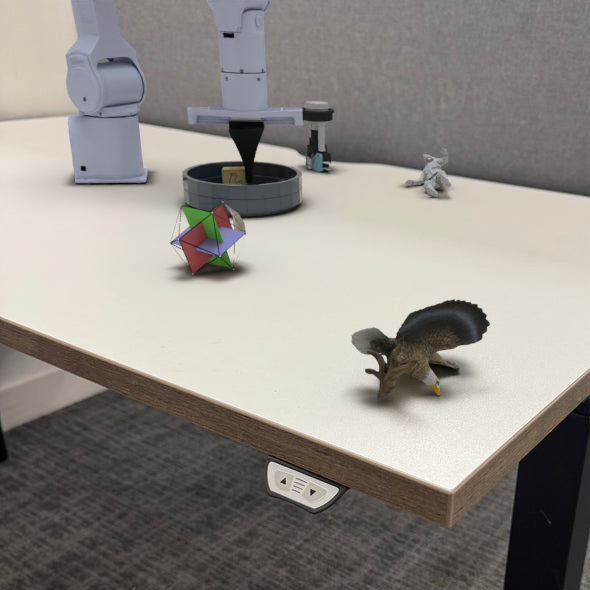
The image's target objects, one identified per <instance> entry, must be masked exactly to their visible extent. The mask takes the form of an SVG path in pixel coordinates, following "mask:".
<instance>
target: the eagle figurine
mask: <svg viewBox="0 0 590 590" xmlns="http://www.w3.org/2000/svg"><path fill="white" fill-rule="evenodd" d="M478 305H479V304H478V303H472V302H471V301H466V300H465V299H464V300H461V299H457V300H456V299H447V300H444V301H442V302H439V303H436V304H433V305H429V306H426V307H424V308H419V309H418V310H414V311H412V312H409V314H407V316H406V318H405V319H404V321H403V322H402V323H401V325H400V327H398V330H397V331H396V335H395V337H388V336H387V335H386V334H384V333H383V332H382V331H381V329H379V328H378V327H367V328H362V329H359V330H357V331H355V332H354V333H353V334H351V344H352V346H353V347H354V348H355V349H356V350H357V351H358V352H359V353H360V354H363V355H368V356H369V355H370V356H372V357H373V358H374V359H375V361H376V362H377V364H378V370H375V369H374V368H369V367H368V368H365V369H364V372H365V373H366V374H367V375H373V376H374V377H375V378H377V379H378V380H379V383H378V384H379V385H378V386H379V387H378V392H377V394H376V395H377V396H376V400H377V401H379V402H380V401H381V400H383V399H384V398H386V397H387V396H388V394H391V393H392V392H393V390H394V389H395V385H396V382H397V380H398V378H399V377H401V375H404V374H407V375H408V376H410V377H412V378H414V379H417V380H419V381H420V382H422V383H424V385H426V386H427V387H429V388H430V389H432V390H433V391H434V392H435V394H436V395H437V396H440V395H442V394H441V388H440V385H441V383H440V382H441V381H440V380H439V378H438V377H437V375H436V374H435V372H434V371H433V369H432V368H431V367H430V366H431V365H430V364H434V365H441V366H445V367H450V368H452V369H455V370H461V367H460V365H457V364H456V362H451V361H449V360H446V359H444V357H442V356H441V355H440V353H438V352H440V351H449V350H455V349H456V348H458V347H460V346H461V347H462V346H470V345H473V344H476V343H478V342H480V341H482V340H483V335H484V334H485V333H487V332H488V327H490V325H491V323H490V321H489V320H488V319H487V317H488V316H487V313H485V312H484V311H483V308H481V307H479V306H478ZM384 356H385V358H386V360H385V358H384Z"/></svg>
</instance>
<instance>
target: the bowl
mask: <svg viewBox="0 0 590 590" xmlns="http://www.w3.org/2000/svg"><path fill="white" fill-rule="evenodd" d="M223 167H244V164H243V161H242V160H229V161H228V160H225V161H224V160H223V161H214V162H206V163H200V164H196V165H192V166H189V167H187V168H185V169H184V170H182V171H181V172H182V174H181V175H182V176H181V177H182V186H183V187H182V188H183V199H184V202H185V203H186V205H188V206H189V207H191V208H195V209H200V210H204V211H208V212H209V211H210V210H212V209H213V208H214V209H215V207H216V206H217V205H218V206H219V204H220V203H222V202H223V204H224V203H225V204H226V205H228V206H229V207H230V208H232V209H233V210H235V211H236V212H237V213H239V214H240V216H241V218H242V217H243V218H245V217H247V218H248V217H263V216H264V217H265V216H271V215H272V216H273V215H277V214H282V213H286V212H288V211H291V210H293V209H294V208H295V207H296V206H297V205H300V204H301V202H302V201H303V173H302V172H301V170H300V169H298V168H297V167H294V166H290V165H286V164H283V163H276V162H268V161H257V160H254V164H253V171H254V181H253V183H247V185H232V184H223V181H222V169H223ZM217 202H220V203H217ZM205 203H208V204H205ZM192 204H195V205H192ZM224 206H225V205H224ZM214 209H213V210H214ZM225 209H226V212H227V215H228V217H233V216H232V215H231V213H230V212H229V210H228V209H227V208H226V206H225ZM213 210H212V211H213ZM210 212H211V211H210Z"/></svg>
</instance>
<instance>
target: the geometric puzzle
mask: <svg viewBox="0 0 590 590" xmlns="http://www.w3.org/2000/svg"><path fill="white" fill-rule="evenodd" d="M217 203H220V202H217ZM205 204H208V203H205ZM192 205H195V204H192ZM224 205H225V206H226V208H227V209H228V210H229V212H230V213H231V215H232V216H231V217H232V222H231V221H230V220H231V219H230V218H229V216H228V215H227V212H226V209H225V206H224ZM213 209H214V208H213ZM213 209H212V210H213ZM181 210H183V211H182V212H183V213H184V216H185V219H186V221H187V223H188V227H187V228H186V229H185V230H183V231H182V232H180V231H181V230H180V229H181V224H178V225H179V226H178V233H179V234H178V235H177V236H176V237H175V238H174V239H173V235H174V232H175V231H173V232H172V234H171V237H170V240H171V241H170V242H169V245H171V246H172V248H173V249H175V247H176V248H178V249H179V250H181V251H182V252H183V254H184V256H185V258H186V261H187V263H186V262H185V261H184V259H183V258H182V257H181V255H180V254H179V253H178V252H177V250H175V253H177V254H178V256H179V257H180V259H181V260H182V261H183V262H184V264H185V265H186V267H187V268H188V269H189V270H190V272H191V275H197V274H199V273H198V272H199V271H201V270H202V269H203V268H205V267H206V266H208V265H210V264H212V265H214V266H215V265H216V266H219V267H222V268H227V269H229V271H232V270H233V271H234V270H235V267H236V265H237V264H236V263H237V259H238V257H239V254H240V253H238V255H237V258H236V259H235V261H236V262H235V261H231V259H230V255H229V253H228V251H229V250H230V248H231V247H232V246H233V253H235V248H236V243H238V241H239V240H240V239H241V238H242V237H243V239H245V237H246V235H247V234H248V231H246V225H245V222H244V220H243V218H242V217H241V216H240V214H239V213H237V212H236V211H235V210H233V209H232V208H230V207H229V206H228V205H226V204H225V203H224V204H223V202H222V203H220V204H219V206H218V205H217V206H216V207H215V209H214V210H213V211H212V210H210V211H211V212H210V211H209V212H208V211H204V210H200V209H195V208H193V207H192V206H188V205H184V204H180V208H179V214H178V215H177V219H176V220H178V219H179V221H181V220H182V219H181V218H182V212H181ZM175 222H176V223H175V226H174V229H173V230H175V229H176V226H177V221H175ZM232 262H233V264H232ZM187 264H188V265H187ZM222 271H223V272H224V269H222V270H220V272H222ZM214 272H216V270H214V271H212V273H214ZM204 273H205V274H206V273H207V271H206V272H203V274H204Z"/></svg>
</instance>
